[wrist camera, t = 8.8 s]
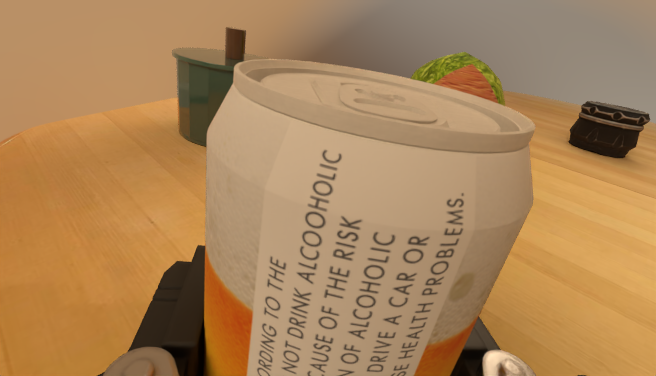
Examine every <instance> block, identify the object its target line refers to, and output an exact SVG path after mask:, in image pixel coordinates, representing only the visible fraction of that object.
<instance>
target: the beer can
mask: <svg viewBox="0 0 656 376" xmlns="http://www.w3.org/2000/svg"><path fill="white" fill-rule="evenodd" d="M534 130H535V124H534V123H533V122H532V121H531V120H530V119H529V118H527V117H526V116H524V115H523V114H521V113H519V112H517V111H515V110H513V109H510V108H508V107H506V106H503V105H501V104H498V103H495V102H493V101H490V100H487V99H484V98H481V97H478V96H474V95H471V94H468V93H464V92H461V91H457V90H454V89H450V88H446V87H442V86H439V85H435V84H430V83H426V82H422V81H418V80H413V79H409V78H404V77H400V76H395V75H390V74H385V73H380V72H374V71H369V70H363V69H357V68H351V67H345V66H337V65H331V64H323V63H315V62H306V61H295V60H279V59H258V60H248V61H244V62H240V63H238V64H236V65H235V67H234V77H233V84H232V86H231V88H230V90H229V91H228V93H227V95H226V97H225V99H224V100H223V102H222V104H221V106H220V108H219V109H218V111H217V113H216V115H215V117H214V119H213V120H212V122H211V124H210V126H209V128H208V131H207V150H206V221H205V292H204V364H203V376H450V374H451V372H452V370H453V368H454V366H455V364H456V362H457V360H458V358H459V356H460V354H461V352H462V350H463V348H464V345H465V343H466V341H467V339H468V337H469V335H470V333H471V331H472V329H473V327H474V325H475V323H476V321H477V319H478V317H479V314H480V312H481V310H482V308H483V306H484V304H485V302H486V300H487V298H488V296H489V294H490V292H491V290H492V288H493V285H494V283H495V281H496V279H497V277H498V275H499V273H500V271H501V269H502V267H503V265H504V263H505V261H506V259H507V257H508V254H509V252H510V250H511V248H512V246H513V244H514V242H515V240H516V238H517V236H518V234H519V232H520V230H521V228H522V225H523V223H524V221H525V219H526V217H527V215H528V213H529V211H530V209H531V207H532V204H533V187H532V174H531V162H530V150H529V142H530V140H531V137H532V135H533V133H534Z"/></svg>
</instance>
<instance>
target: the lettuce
mask: <svg viewBox="0 0 656 376" xmlns="http://www.w3.org/2000/svg"><path fill="white" fill-rule="evenodd" d="M471 64H473V65H474V66H475V67H476V68H477V69H478V70H479V71H480V72H481V73H482V74H483V75H484V76H485V78H486V79H487V81H488V82H489V84H490V85H491V88H492V90H493V92H494V94H495V96H496V98H497V100H498V103H499V104H501V105H503V106H505V101H504V95H503V90H502V85H501V82H500V80H499V78H498V77H497V76H496V75H495V74H494V72H493V71H492V70H491V69H490V68H489V66H488V65H486V64H485V63H483V62H482V61H480V60H478V59H477V58H475V57H473V56H471V55H470V54H468V53H466V52H463V53H458V54H453V55H448V56H444V57H441V58H438V59H435V60H432V61H430V62H428V63H426V64H425V65H423V66H422V67H420V68H419V69H418V70H416V71H415V72H414V74H413V75H412V77H411V79H413V80H418V81H422V82H426V83H430V84H434V83H435V82H437V81H438V80H440V79H441V78H442V77H444V76H445V75H447V74H449V73H451V72H453V71H455V70H457V69H460V68H463V67H465V66H468V65H471Z"/></svg>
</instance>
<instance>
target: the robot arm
mask: <svg viewBox="0 0 656 376" xmlns="http://www.w3.org/2000/svg"><path fill="white" fill-rule="evenodd" d="M204 292H205V246H202V245H198V246H197V248H196V251H195V254H194V257H193V259H192V262H183V261H177V262H176V263H175V264H173V265H172V266H171V267H170V268H169V269H168V270H167V271H166V272H164V274H163V277H162V279H161V281H160V283H159V285H158V289H157V290H156V292H155V294H154V296H153V300H152V301H151V303H150V305H149V307H148V309H147V312H146V314H145V316H144V318H143V320H142V323H141V325H140V327H139V329H138V331H137V334H136V336H135V338H134V340H133V342H132V345H131V347H130V348H129V350H128V352H127V353H125V354H123V355H122V356H120V357H119V358H117V359H116V360H115V361H114V362H113V363H112V364H111V365H110V366H109V367H108V368H107V370H106V371H105V372H104V373H102V374H100V375H98V376H203V364H204ZM450 376H536V375H535V373H534V372H533V371H532V369H531V368H530V367H529V366H528V365H527V364H526V363H525V362H523V361H522V360H521V359H519V358H518V357H516V356H514V355H513V354H510V353H508V352H505V351H501V350H500V348H499V347H498V345H497V343H496V342H495V340H494V339H493V337H492V336H491V334H490V333H489V331H488V330H487V328H486V327H485V325H484V324H483V322H482V321H481V319H480V318H479V317H478V319H477V321H476V323H475V325H474V327H473V329H472V331H471V333H470V335H469V337H468V339H467V341H466V343H465V345H464V348H463V350H462V352H461V354H460V356H459V358H458V360H457V362H456V364H455V366H454V368H453V370H452V372H451V374H450ZM578 376H585V375H578Z"/></svg>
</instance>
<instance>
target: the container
mask: <svg viewBox="0 0 656 376" xmlns="http://www.w3.org/2000/svg"><path fill="white" fill-rule="evenodd" d="M581 109H582V112H580V113H579V119H578V120H577V121H576V122H575V124H574V125H573V126H572V128H571V129H570V133H571V134H570V140H569V143H571V144H572V145H574V146H577V147H580V148H582V149H585V150H589V151H594V152H596V153H599V154H601V155H606V156H612V157H617V158H621V157H622V158H623V157H625V155H626V154H627V153H628V151H629V150H631V149H633V148H635V147H636V144H637V140H638V136H639V132H641V131H642V130H643V129H644V126H643V125H645V124H646V123H648V122H649V121H650V118H649V114H648V113H645V112H642V111H638V110H634V109H630V108H626V107H621V106H616V105H611V104H606V103H600V102H593V101H587V102H586V103H585V104H583V105H582V106H581Z"/></svg>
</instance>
